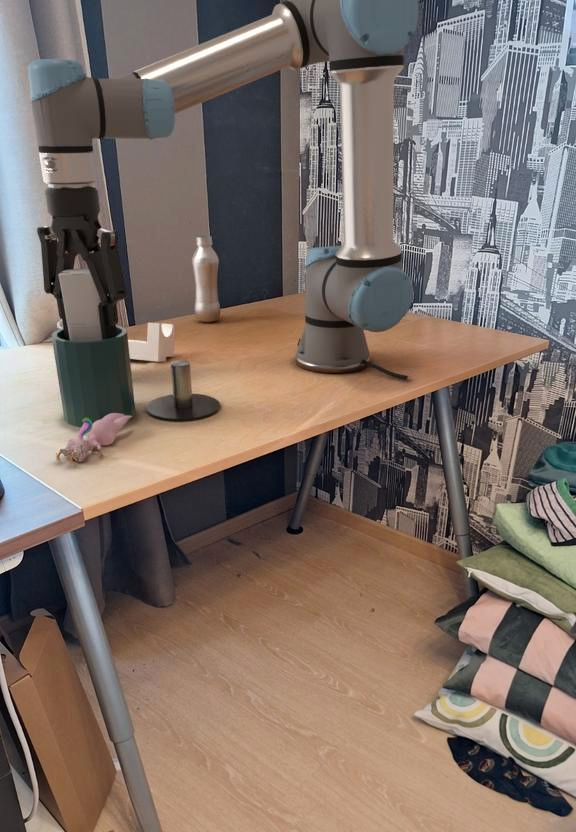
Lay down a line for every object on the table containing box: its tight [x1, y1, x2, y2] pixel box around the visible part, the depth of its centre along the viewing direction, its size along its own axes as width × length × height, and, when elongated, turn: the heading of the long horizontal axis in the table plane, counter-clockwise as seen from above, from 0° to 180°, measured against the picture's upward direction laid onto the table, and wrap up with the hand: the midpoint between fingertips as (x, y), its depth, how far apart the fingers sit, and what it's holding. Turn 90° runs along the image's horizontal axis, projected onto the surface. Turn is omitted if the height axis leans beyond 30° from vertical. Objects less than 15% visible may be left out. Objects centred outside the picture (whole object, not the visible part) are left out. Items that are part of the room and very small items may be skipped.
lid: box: [145, 359, 221, 422], centre depth 122 cm, size 13×13×9 cm
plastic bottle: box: [191, 235, 222, 323], centre depth 175 cm, size 6×7×20 cm
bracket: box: [128, 322, 176, 363], centre depth 151 cm, size 13×7×8 cm, turn 72°
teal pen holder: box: [51, 324, 137, 428], centre depth 118 cm, size 12×12×14 cm
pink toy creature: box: [55, 413, 133, 468], centre depth 109 cm, size 6×6×15 cm
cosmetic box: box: [59, 268, 102, 341], centre depth 113 cm, size 6×4×12 cm
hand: (91, 342), depth 115 cm, fingers closed on cosmetic box, 7 cm apart
